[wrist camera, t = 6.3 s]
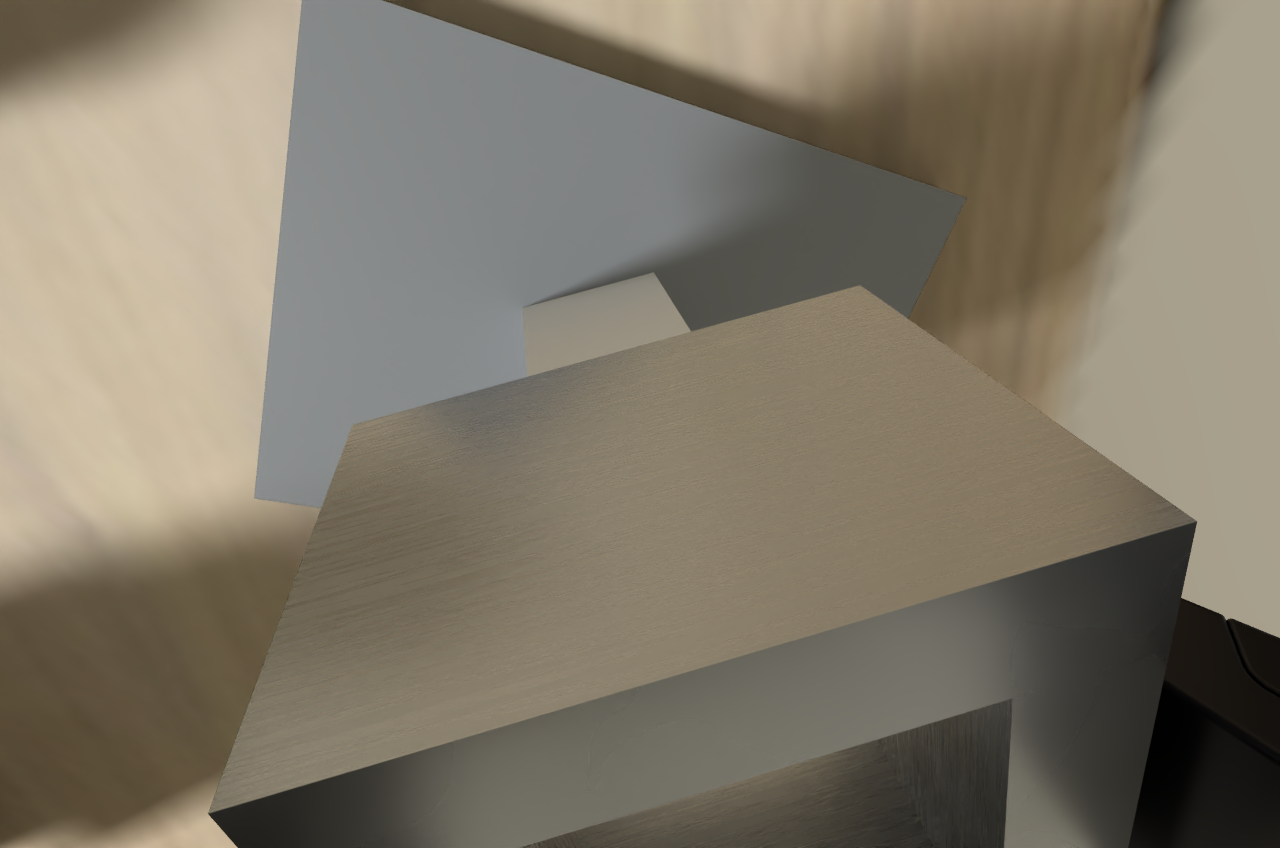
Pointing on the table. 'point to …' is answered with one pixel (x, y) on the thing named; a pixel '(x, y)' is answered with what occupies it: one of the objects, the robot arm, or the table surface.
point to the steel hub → (719, 611)
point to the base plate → (530, 226)
